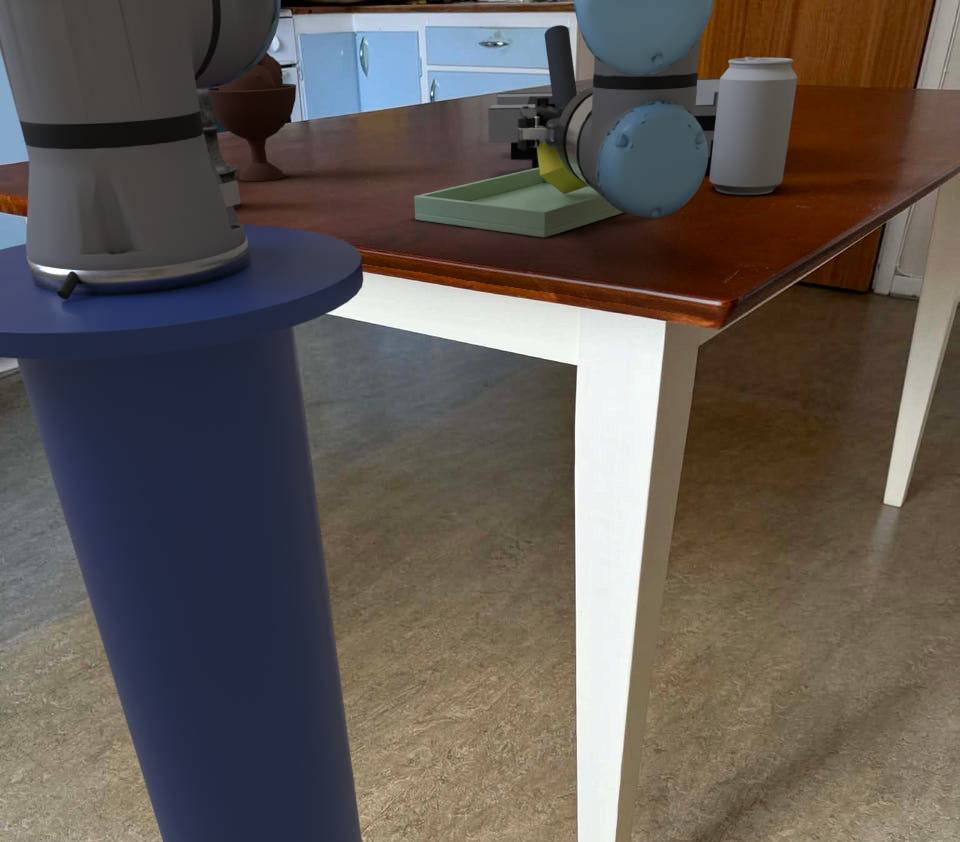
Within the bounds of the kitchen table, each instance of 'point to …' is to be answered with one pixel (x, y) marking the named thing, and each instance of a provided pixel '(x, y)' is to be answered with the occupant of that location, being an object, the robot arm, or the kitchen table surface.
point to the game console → (509, 104)
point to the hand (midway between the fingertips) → (553, 112)
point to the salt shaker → (214, 139)
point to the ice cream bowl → (255, 112)
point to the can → (752, 125)
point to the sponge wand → (562, 95)
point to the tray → (514, 205)
